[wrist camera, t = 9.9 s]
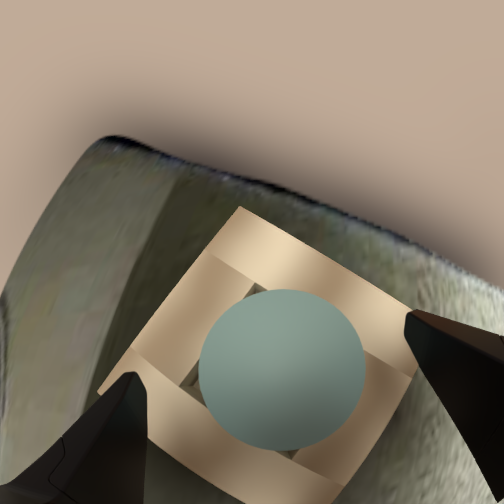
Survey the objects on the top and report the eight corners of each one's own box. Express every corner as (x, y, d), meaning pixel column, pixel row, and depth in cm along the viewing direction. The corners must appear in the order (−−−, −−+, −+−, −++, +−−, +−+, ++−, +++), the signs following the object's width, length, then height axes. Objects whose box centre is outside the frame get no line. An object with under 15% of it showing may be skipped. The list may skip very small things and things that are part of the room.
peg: (328, 387, 16) (392, 392, 8) (253, 429, 15) (249, 477, 7) (286, 317, 18) (312, 261, 10) (212, 357, 17) (170, 336, 9)
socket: (405, 337, 18) (435, 325, 14) (297, 504, 13) (306, 531, 10) (243, 237, 21) (239, 206, 17) (127, 391, 17) (97, 391, 13)
